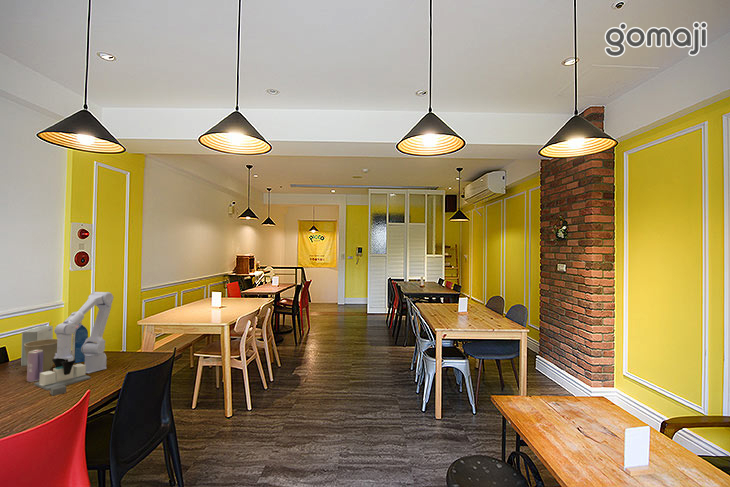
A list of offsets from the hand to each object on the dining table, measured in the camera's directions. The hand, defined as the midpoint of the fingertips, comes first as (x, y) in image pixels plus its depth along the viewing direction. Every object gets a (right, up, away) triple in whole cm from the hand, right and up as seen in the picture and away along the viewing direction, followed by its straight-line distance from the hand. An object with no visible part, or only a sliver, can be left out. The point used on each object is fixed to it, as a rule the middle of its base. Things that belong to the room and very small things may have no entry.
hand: (63, 373), depth 180 cm
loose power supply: (+10, -5, -14) cm, 18 cm away
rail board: (0, -4, 0) cm, 4 cm away
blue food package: (-20, -5, +35) cm, 41 cm away
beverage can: (-16, -4, +1) cm, 17 cm away
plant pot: (-25, -5, +15) cm, 29 cm away
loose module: (0, -3, 0) cm, 3 cm away
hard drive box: (-42, -5, +30) cm, 52 cm away
